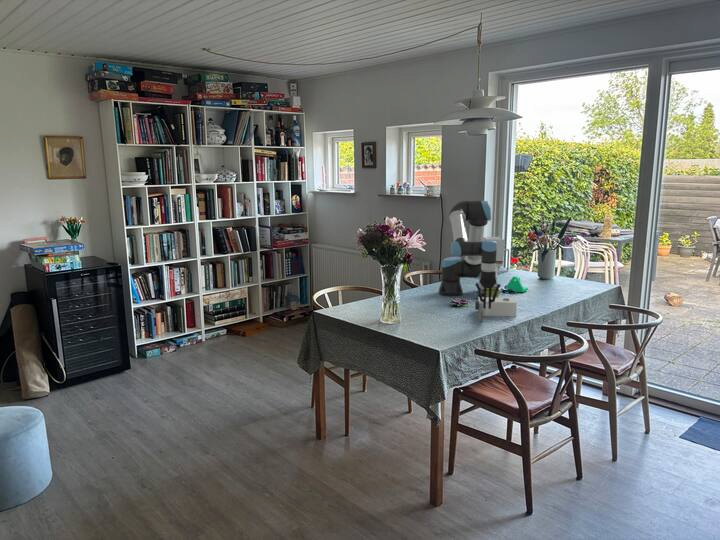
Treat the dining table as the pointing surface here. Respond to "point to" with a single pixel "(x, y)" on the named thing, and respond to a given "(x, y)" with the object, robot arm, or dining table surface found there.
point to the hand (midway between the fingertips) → (486, 314)
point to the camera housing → (499, 307)
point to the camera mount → (516, 285)
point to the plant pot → (492, 292)
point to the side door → (480, 313)
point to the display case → (498, 256)
